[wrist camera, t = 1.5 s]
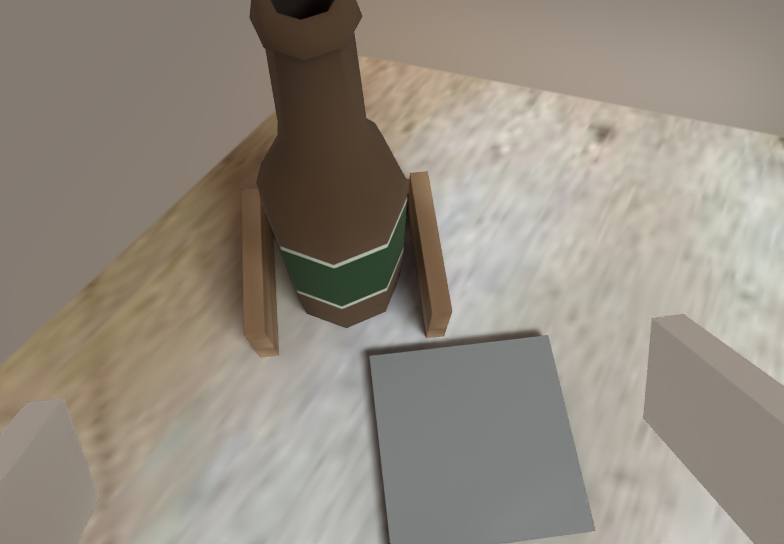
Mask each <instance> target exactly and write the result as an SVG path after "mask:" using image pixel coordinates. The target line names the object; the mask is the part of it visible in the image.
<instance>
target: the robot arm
mask: <svg viewBox="0 0 784 544" xmlns="http://www.w3.org/2000/svg"><path fill="white" fill-rule="evenodd" d="M643 418H644V420H645V421H646V422H647V423H648V424H649V425H650V426H651V427H652V429H653V430H654V431H655V432H656V433H657V434H658V435H659V437H660V438H661V439H662V440H663V441H664V442H665V443H666V444H667V446H668V447H669V448H670V449H671V450H672V451H673V452H674V454H675V455H676V456H677V457H678V458H679V459H680V460H681V461H682V463H683V464H684V465H685V466H686V467H687V468H688V469H689V471H690V472H691V473H692V474H693V475H694V476H695V477H696V478H697V480H698V481H699V482H700V483H701V484H702V485H703V486H704V488H705V489H706V490H707V491H708V492H709V493H710V494H711V495H712V497H713V498H714V499H715V500H716V501H717V502H718V503H719V505H720V506H721V507H722V508H723V509H724V510H725V511H726V512H727V514H728V515H729V516H730V517H731V518H732V519H733V520H734V521H735V523H736V524H737V525H738V526H739V527H740V528H741V529H742V531H743V532H744V533H745V534H746V535H747V536H748V537H749V538H750V540H751V541H752V542H753V543H754V544H784V386H783V385H782V384H780V383H779V382H777V381H776V380H775V379H773V378H772V377H770V376H769V375H768V374H766V373H765V372H763V371H762V370H761V369H759V368H758V367H757V366H755V365H754V364H752V363H751V362H750V361H748V360H747V359H745V358H744V357H743V356H741V355H740V354H738V353H737V352H736V351H734V350H733V349H731V348H730V347H729V346H727V345H726V344H725V343H723V342H722V341H720V340H719V339H718V338H716V337H715V336H713V335H712V334H711V333H709V332H708V331H706V330H705V329H704V328H702V327H701V326H699V325H698V324H697V323H695V322H694V321H693V320H691V319H690V318H688V317H687V316H686V315H684V314H680V315H673V316H665V317H658V318H652V323H651V335H650V346H649V358H648V369H647V381H646V392H645V404H644V415H643ZM98 500H99V496H98V494H97V491H96V488H95V485H94V482H93V479H92V477H91V474H90V471H89V468H88V465H87V462H86V459H85V457H84V454H83V451H82V448H81V445H80V442H79V439H78V437H77V434H76V431H75V428H74V425H73V422H72V419H71V417H70V414H69V411H68V408H67V405H66V402H65V400H64V398H57V399H50V400H42V401H35V402H28V403H26V404H25V405H24V406H23V407H22V409H21V410H20V411H19V412H18V413H17V415H16V416H15V417H14V418H13V419H12V420H11V422H10V423H9V424H8V425H7V426H6V428H5V429H4V430H3V431H2V432H1V433H0V544H77V542H78V540H79V538H80V536H81V534H82V532H83V530H84V528H85V526H86V524H87V522H88V520H89V518H90V516H91V514H92V512H93V510H94V508H95V506H96V504H97V502H98Z"/></svg>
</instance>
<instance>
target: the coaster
mask: <svg viewBox="0 0 784 544" xmlns="http://www.w3.org/2000/svg"><path fill="white" fill-rule="evenodd" d="M370 366H371V375H372V384H373V393H374V402H375V411H376V420H377V430H378V439H379V448H380V457H381V466H382V475H383V484H384V493H385V502H386V511H387V520H388V529H389V538H390V544H504V543H511V542H518V541H525V540H533V539H540V538H547V537H554V536H562V535H569V534H576V533H583V532H590V531H595V527H594V523H593V519H592V515H591V511H590V507H589V502H588V498H587V494H586V490H585V486H584V482H583V478H582V473H581V469H580V465H579V461H578V457H577V453H576V449H575V444H574V440H573V436H572V432H571V428H570V424H569V420H568V415H567V411H566V407H565V403H564V399H563V395H562V391H561V386H560V382H559V378H558V374H557V370H556V366H555V362H554V358H553V353H552V349H551V345H550V341H549V337H548V335H545V336H537V337H528V338H520V339H511V340H502V341H494V342H485V343H477V344H468V345H460V346H451V347H442V348H434V349H425V350H417V351H408V352H399V353H391V354H382V355H374V356H370Z"/></svg>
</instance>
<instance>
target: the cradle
mask: <svg viewBox="0 0 784 544" xmlns="http://www.w3.org/2000/svg"><path fill="white" fill-rule="evenodd" d="M406 188H407V207H406V210H407V213H408V219H409V226H410V232H411V239H412V245H413V252H414V258H415V265H416V271H417V278H418V284H419V291H420V297H421V304H422V310H423V317H424V323H425V330H426V337H427V338H431V337H440V336H444V335H445V332H446V329H447V326H448V323H449V320H450V317H451V314H452V307H451V301H450V296H449V290H448V284H447V279H446V273H445V267H444V261H443V256H442V250H441V244H440V239H439V233H438V227H437V221H436V216H435V210H434V204H433V199H432V193H431V187H430V181H429V176H428V171H426V172H416V173H410V179H406ZM241 213H242V260H243V308H244V335H245V337H246V338H247V339H248V341H249V342H250V343H251V345H252V346H253V347H254V349H255V350H256V351H257V353H258V354H259V355H260V357H267V356H275V355H279V346H278V324H277V303H276V281H275V259H274V237H273V231H272V228H271V225H270V223H269V220H268V218H267V215H266V212H265V210H264V207H263V205H262V202H261V199H260V194H259V190H258V188H251V189H241Z"/></svg>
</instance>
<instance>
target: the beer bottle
mask: <svg viewBox="0 0 784 544" xmlns="http://www.w3.org/2000/svg"><path fill="white" fill-rule="evenodd" d="M361 18H362V14H361V11H360V9H359V6H358V4H357V1H356V0H251V8H250V20H251V22H252V24H253V26H254V28H255V30H256V32H257V34H258V36H259V39H260V41H261V43H262V45H263V47H264V48H265V49H266V54H267V61H268V67H269V73H270V79H271V85H272V91H273V97H274V102H275V108H276V114H277V120H278V135H277V137H276V138H275V140H274V142H273V144H272V146H271V147H270V149H269V151H268V153H267V154H266V156H265V158H264V160H263V162H262V163H261V167H260V171H259V174H258V178H257V186H258V190H259V194H260V199H261V202H262V205H263V207H264V210H265V212H266V215H267V218H268V220H269V223H270V225H271V228H272V231H273V233H274V236H275V238H276V241H277V244H278V246H279V249H280V251H281V254H282V257H283V259H284V262H285V264H286V267H287V269H288V272H289V274H290V277H291V279H292V281H293V284H294V286H295V289H296V291H297V293H298V296H299V298H300V301H301V303H302V305H303V307H304V309H305V311H306V313H307V314H310V315H312V316H315V317H318V318H320V319H323V320H326V321H329V322H331V323H334V324H337V325H339V326H342V327H345V328H348V327H350V326H352V325H355V324H357V323H359V322H362V321H364V320H367V319H369V318H371V317H374V316H376V315H378V314H381V313H383V312H385V311H386V309H387V307H388V304H389V302H390V299H391V297H392V294H393V292H394V289H395V287H396V284H397V282H398V279H399V277H400V274H401V269H402V263H403V249H404V235H405V221H406V207H407V188H406V178H405V176H404V174H403V172H402V170H401V169H400V167H399V165H398V163H397V161H396V159H395V158H394V156H393V154H392V152H391V150H390V148H389V146H388V145H387V143H386V141H385V139H384V137H383V135H382V134H381V132H380V130H379V129H378V127H377V125H376V124H375V123H374V122H372V121H370V120H369V119H367V118H366V113H365V105H364V98H363V91H362V84H361V77H360V70H359V63H358V55H357V49H356V41H355V34H354V31H355V29H356V27H357V25H358V24H359V22H360V20H361Z"/></svg>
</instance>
